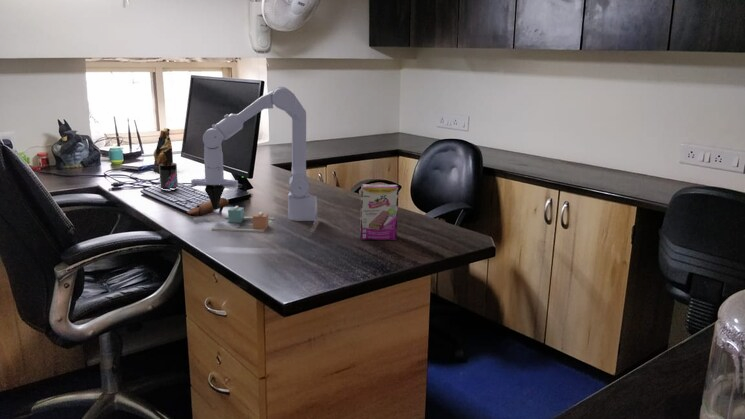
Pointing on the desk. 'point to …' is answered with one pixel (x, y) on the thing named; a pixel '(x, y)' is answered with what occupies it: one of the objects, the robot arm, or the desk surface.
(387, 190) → the candy bar box
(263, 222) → the orange block with handle
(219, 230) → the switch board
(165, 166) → the supplement container
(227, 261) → the desk surface
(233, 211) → the teal handled block
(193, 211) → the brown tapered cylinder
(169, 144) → the statue
